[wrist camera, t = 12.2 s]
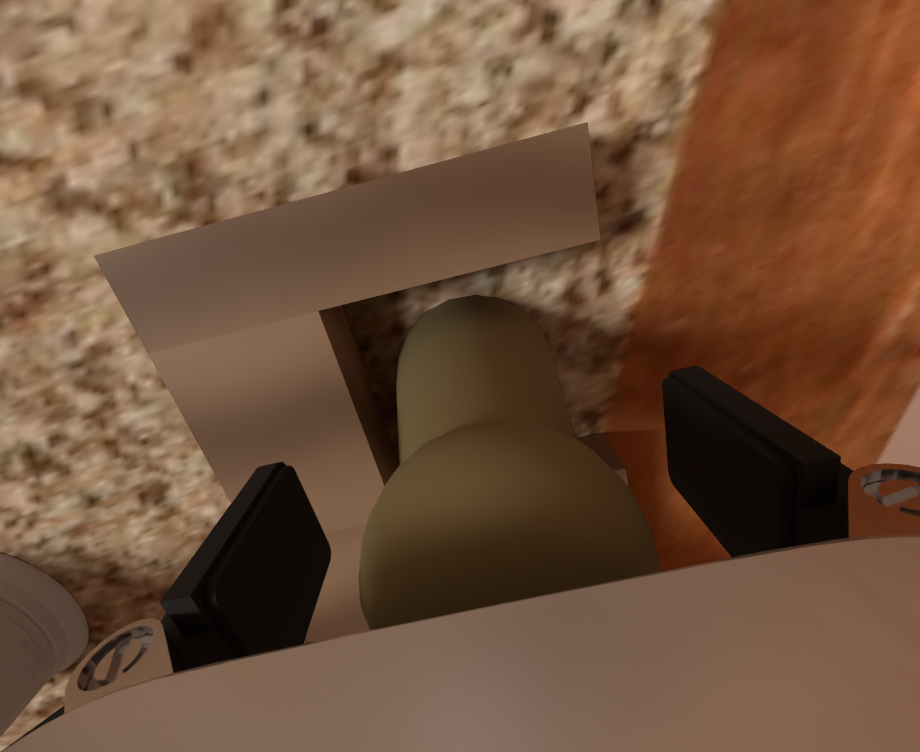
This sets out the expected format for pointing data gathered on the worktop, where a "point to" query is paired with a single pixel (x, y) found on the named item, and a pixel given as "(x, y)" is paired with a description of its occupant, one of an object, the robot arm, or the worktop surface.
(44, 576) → the glass holder
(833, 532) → the robot arm
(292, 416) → the notched board
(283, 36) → the worktop surface
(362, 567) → the cork
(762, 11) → the worktop surface
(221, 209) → the worktop surface
